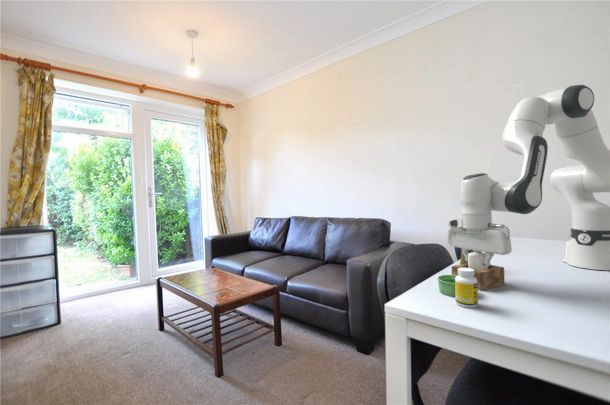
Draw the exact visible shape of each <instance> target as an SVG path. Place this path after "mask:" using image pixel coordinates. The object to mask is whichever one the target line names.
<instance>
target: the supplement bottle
mask: <svg viewBox="0 0 610 405" xmlns="http://www.w3.org/2000/svg"><path fill="white" fill-rule="evenodd" d="M458 274H459V276H456V278H455V297H454V298H455V304H456V305H458V306H460V307H463V308H468V309H470V308H476V307H478V305H479V298H478V297H479V296H478V294H479V293H478V292H479V290H478V283H477V279H476V278H475V277H473V276H474V270H473V269H471V268H458Z"/></svg>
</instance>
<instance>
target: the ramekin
mask: <svg viewBox="0 0 610 405" xmlns="http://www.w3.org/2000/svg"><path fill="white" fill-rule="evenodd" d="M456 276H458V275H452V274H443V275H438V277H437V278H436V279H437V282H438V289H439V292H440V294H442V295H445V296H448V297H453V298H456V297H455V278H456Z"/></svg>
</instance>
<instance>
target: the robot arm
mask: <svg viewBox="0 0 610 405" xmlns="http://www.w3.org/2000/svg"><path fill="white" fill-rule="evenodd" d="M594 94H595V93H594V92H593V90H592V89H591V87H589V86H586V85H584V84H576V85H570V86H568V87H565V88H558V89H555V90H552V91H549V92H546V93H543V94H541V95H537V96H528V97H525V98H522V99H521V100H520V101H519V102H517V104H516V105H515V107H513V110H512V111H511V113H510V115H509V117H508V119H507V121H506V123H505V126H504V129H503V131H502V135H501V142H502V145H503V146H504V147H505V149H507V150H508V151H510V152H511V153H514V154H517V155H521V156H523V162H522V165H521V172H520V176H519V178H518V179H516V180H515V181H512V182H511V181H510V182H499V181H496V180H494V179H492V178H491V177H489V174H488V173H483V172H481V173H475V174H470V175H465V176H464V177H462V180H461V183H460V193H459V194H460V195H459V201H460V204H461V211H460V217H455V218H453V219H449V220H447V226H448V227H447V228H448V229H447V236H446V238H447V239H446V240H447V244H448V245H449V246H450V247H453V248H460V249H461V248H462V249H461V251H462V252H463V254H464V256H465V261H466V262H468V254H469V252H468V251H469V249H470V250H476V251H481V252H482V253H485V255H486V256H487V257H486V259H485V260H482V262H483V263H482V264H483V265H485V266H490V265H491V260H492V259H493V257H494V256H495V255H501V256H505V255H509V254H511V253H512V241H511V233H510V231H511V230H510V228H509V227H508V226H506V225H505V224H502V223H500V224H498V223H497V224H496V223H493V221H492V220H493V219H492V218H493V214H492V211H493V212H494V211H495V212H502V213H505V212H506V213H508V212H509V213H515V214H520V215H528V214H531V213H533V212H534V211H536V210H537V208H539V206H540V205H541V203H542V200H543V181H544V175H545V169H546V164H547V158H548V151H549V149H548V148H549V146H548V141H547V140H546V138H544V137H543V135H544V132H545V129H546V126H547V125H553V124H554V126H555V133H556V136H557V139H558V140H557V141H558V142H559V146H560V149H561V152H562V155H564V156H565V157H566V158H568V159H572V160H574V161H576V162H579V163H580V164H575V165H567V166H563V167H560V168H556V169H555V170H553V171H552V172H551V174H550V177H549V184H550V186H551V189H553V190H554V191H556V192H558V193H559V194H560V195H561V196H562V197H563V198H564V199H565V201H566V202H567V204H568V205H569V208H570V213H571V214H570V215H571V228H570V231H569V233H570V237H571V239H569V240H568V241H566V248H565V257H562V258H561V261H562V262H564V263H566V264H568V265H570V266H573V267H577V268H583V269H587V270H596V271H610V206H609V205H608V204H606V203H603V202H601V201H598V200H597V199H596V197H595V196H594V193H610V149H609V148H608V147H607V145H606V144H605V142H604V140H603V138H602V134H601V132H600V128H599V124H598V121H597V119H596V116H595V114H594V112H593V111H592V108H593V106H594V103H595V95H594Z"/></svg>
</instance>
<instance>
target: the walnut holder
mask: <svg viewBox="0 0 610 405" xmlns="http://www.w3.org/2000/svg"><path fill="white" fill-rule="evenodd" d="M458 268H468V263H465V264H460V263H459V264H456V265H452V266H451V275H458V276H459V274H458ZM473 277H475V278H476V279H477V283H478V291H479V292H480V291H485V290H488V289H491V288H495V287H498V286H502V285H505V267H504V266H498V265H493V264H490V266H488V269H485V270H480V271H476V270H474V276H473Z"/></svg>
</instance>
